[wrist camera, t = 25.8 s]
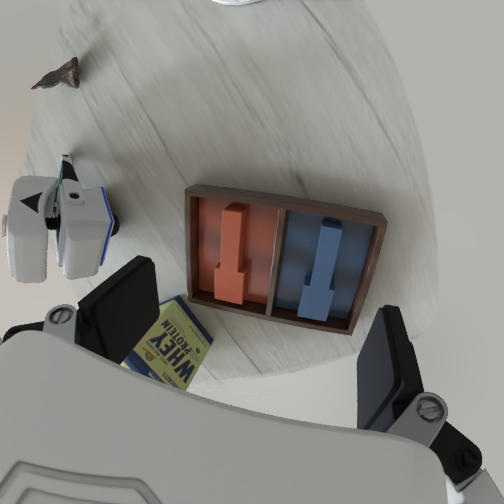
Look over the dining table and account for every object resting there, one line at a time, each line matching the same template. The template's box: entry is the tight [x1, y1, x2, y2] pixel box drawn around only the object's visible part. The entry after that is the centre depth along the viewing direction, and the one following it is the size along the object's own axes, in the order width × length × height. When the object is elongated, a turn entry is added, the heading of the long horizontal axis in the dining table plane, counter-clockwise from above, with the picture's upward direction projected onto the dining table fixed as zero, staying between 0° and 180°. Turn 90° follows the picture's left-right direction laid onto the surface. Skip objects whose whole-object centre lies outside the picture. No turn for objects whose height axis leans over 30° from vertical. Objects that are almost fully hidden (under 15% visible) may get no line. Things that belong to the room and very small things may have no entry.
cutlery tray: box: [185, 184, 388, 336], centre depth 35 cm, size 17×24×3 cm
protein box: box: [121, 295, 213, 391], centre depth 41 cm, size 10×16×16 cm
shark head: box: [31, 57, 80, 89], centre depth 29 cm, size 8×6×7 cm
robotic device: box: [2, 155, 120, 283], centre depth 35 cm, size 10×21×20 cm
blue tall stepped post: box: [297, 220, 343, 321], centre depth 34 cm, size 13×4×2 cm, turn 175°
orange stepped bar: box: [215, 205, 248, 305], centre depth 36 cm, size 13×4×2 cm, turn 175°
